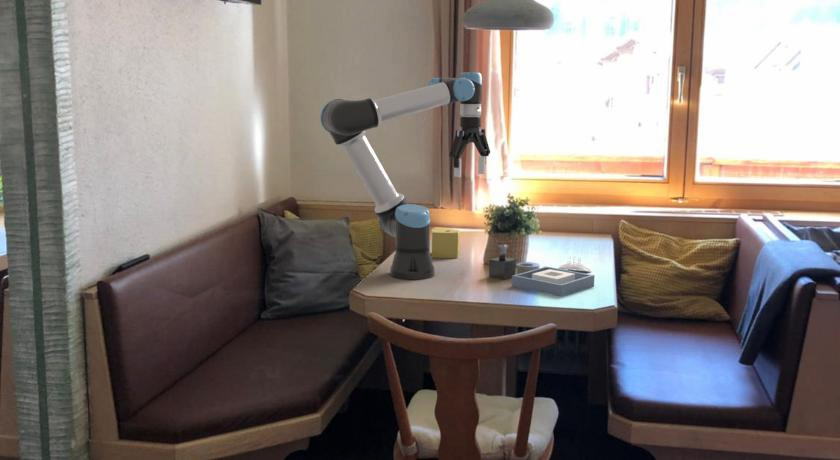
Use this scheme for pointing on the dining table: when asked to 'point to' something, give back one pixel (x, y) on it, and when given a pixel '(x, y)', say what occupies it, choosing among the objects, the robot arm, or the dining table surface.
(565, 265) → the pincushion
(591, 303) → the dining table surface
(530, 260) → the dining table surface
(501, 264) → the grey block with post
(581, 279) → the tray
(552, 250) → the dining table surface
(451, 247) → the cheese
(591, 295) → the dining table surface
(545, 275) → the ring
